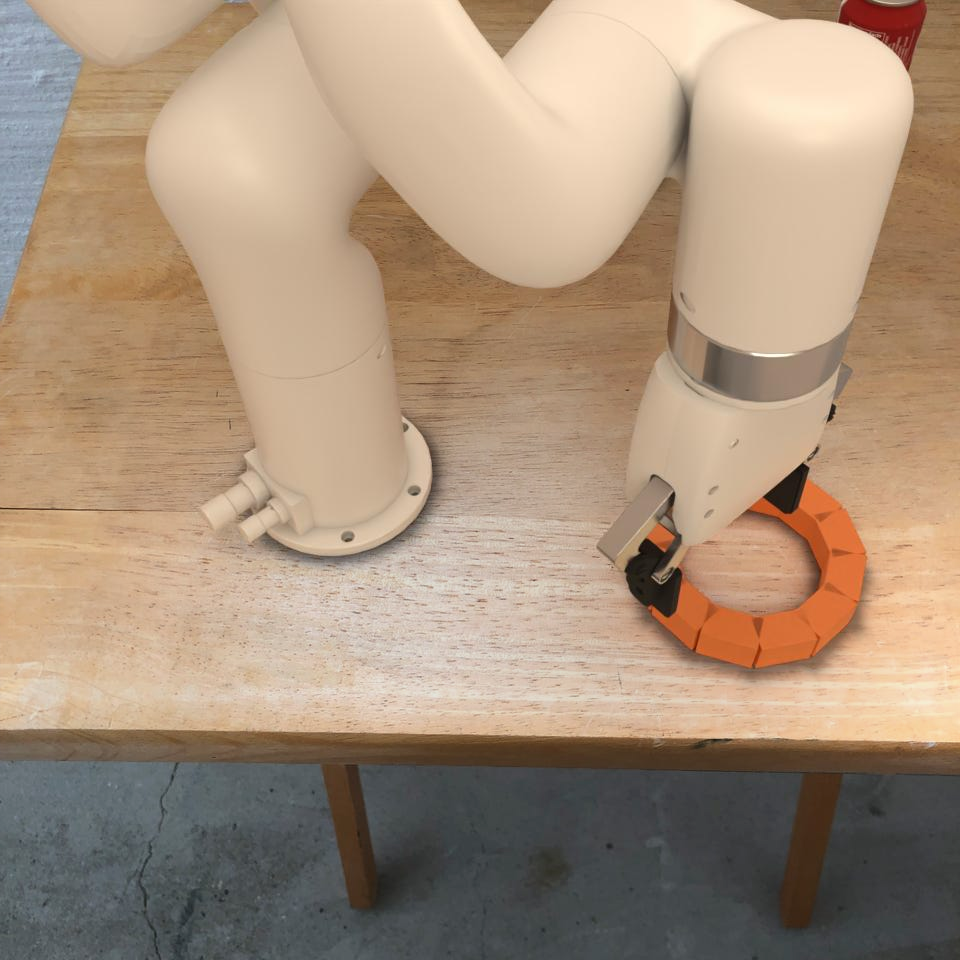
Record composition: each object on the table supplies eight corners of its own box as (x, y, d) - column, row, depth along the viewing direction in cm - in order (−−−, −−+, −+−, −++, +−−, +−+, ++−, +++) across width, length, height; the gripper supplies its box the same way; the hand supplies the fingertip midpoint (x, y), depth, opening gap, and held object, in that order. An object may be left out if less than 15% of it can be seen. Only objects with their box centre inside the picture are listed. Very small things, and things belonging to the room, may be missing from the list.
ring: (756, 709, 64) (763, 691, 62) (593, 562, 71) (595, 541, 69) (900, 576, 69) (910, 555, 67) (735, 450, 76) (740, 428, 74)
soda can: (893, 141, 95) (935, 11, 85) (813, 134, 96) (845, 4, 86) (892, 95, 99) (931, -35, 89) (815, 88, 100) (846, -41, 90)
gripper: (818, 191, 52) (764, 425, 65) (548, 379, 46) (550, 594, 59) (955, 268, 48) (868, 499, 62) (682, 484, 42) (652, 688, 55)
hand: (712, 546), depth 60 cm, fingers open, 9 cm apart
